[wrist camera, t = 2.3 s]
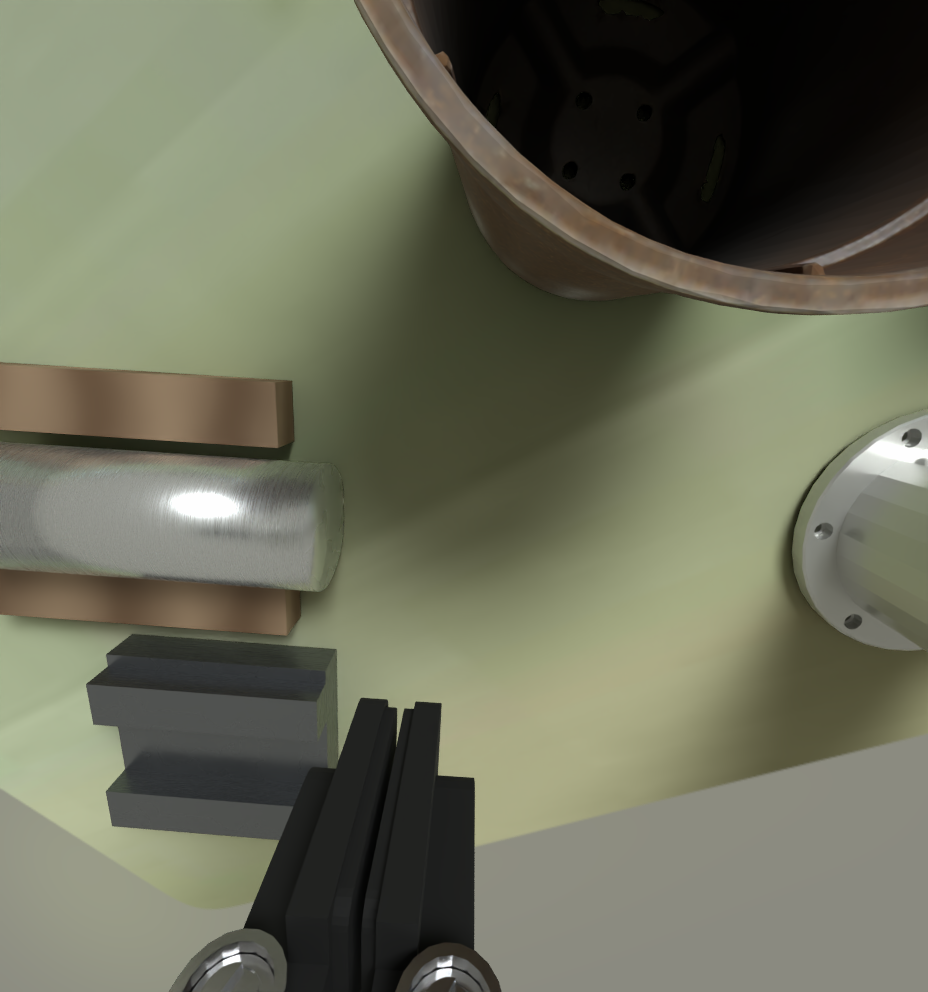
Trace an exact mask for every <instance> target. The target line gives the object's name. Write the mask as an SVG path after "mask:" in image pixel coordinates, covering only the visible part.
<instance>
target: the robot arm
mask: <svg viewBox="0 0 928 992" xmlns="http://www.w3.org/2000/svg"><path fill="white" fill-rule="evenodd" d="M792 557H793V567H794V573H795V576H796V579H797V582H798V585H799V588H800V590H801V592H802V594H803V595H804V597H805V598H806V600H807V602H808V603H809V605H810V606H811V608H812V609H813V610H815V611H816V612H817V613H818V614H819V615H820V616H821V617H822V618H823V619H824V620H825V621H826V622H827V623H829V624H830V625H831V626H833V627H834V628H835V629H837V630H838V631H840V632H841V633H842V634H844V635H846V636H848V637H850V638H852V639H854V640H857V641H859V642H861V643H863V644H866V645H870V646H874V647H878V648H882V649H887V650H901V651H914V650H925V651H926V652H928V409H925V410H921V411H918V412H915V413H911V414H908V415H905V416H901V417H898V418H896V419H894V420H892V421H890V422H887V423H885V424H883V425H881V426H879V427H877V428H875V429H873V430H871V431H870V432H868V433H867V434H865V435H864V436H862V437H861V438H860V439H858V440H857V441H855V442H854V443H852V444H851V445H849V446H848V447H847V448H846V449H845V450H844V451H843V452H842V453H841V454H840V455H839V456H838V457H837V458H835V459H834V460H833V461H832V462H831V463H830V464H829V465H828V467H827V468H826V469H825V470H824V472H823V473H822V474H821V476H820V477H819V478H818V480H817V481H816V482H815V483H814V485H813V486H812V488H811V490H810V492H809V494H808V496H807V498H806V499H805V501H804V503H803V505H802V507H801V510H800V513H799V516H798V519H797V523H796V526H795V529H794V537H793V546H792ZM440 724H441V703H429V702H415V706H414V709H404V713H403V718H402V722H401V727H400V732H399V737H398V742H397V747H396V739H397V708H391V707H388V700H385V699H370V698H361V699H360V701H359V703H358V706H357V709H356V712H355V715H354V718H353V721H352V723H351V726H350V729H349V732H348V735H347V738H346V741H345V744H344V747H343V750H342V752H341V755H340V758H339V761H338V764H337V767H336V768H321V767H312V768H311V769H310V770H309V771H308V773H307V775H306V777H305V780H304V782H303V784H302V787H301V789H300V792H299V794H298V797H297V799H296V801H295V804H294V806H293V809H292V811H291V814H290V816H289V819H288V821H287V823H286V826H285V828H284V831H283V833H282V836H281V838H280V840H279V843H278V845H277V848H276V850H275V853H274V855H273V857H272V860H271V862H270V865H269V867H268V870H267V872H266V875H265V877H264V879H263V882H262V884H261V887H260V889H259V892H258V894H257V896H256V899H255V901H254V904H253V906H252V909H251V911H250V914H249V916H248V918H247V921H246V923H245V926H244V928H243V929H240V930H236V931H232V932H229V933H226V934H224V935H222V936H221V937H219V938H217V939H215V940H214V941H212V942H210V943H209V944H207V945H206V946H205V947H204V948H203V949H202V950H201V951H200V952H198V953H197V954H196V955H195V956H194V957H193V958H192V959H191V960H190V962H189V963H188V964H187V965H186V967H185V968H184V970H183V971H182V972H181V973H180V975H179V976H178V977H177V979H176V981H175V982H174V984H173V985H172V987H171V989H170V990H169V992H501V989H500V985H499V981H498V979H497V977H496V976H495V974H494V972H493V971H492V969H491V967H490V965H489V964H488V963H487V962H486V961H485V960H484V959H483V958H482V957H481V956H480V955H479V954H478V953H477V952H476V951H475V950H474V828H475V782H474V778H467V777H453V776H438V760H439V742H440Z"/></svg>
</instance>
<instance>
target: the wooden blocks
mask: <svg viewBox="0 0 928 992" xmlns="http://www.w3.org/2000/svg"><path fill="white" fill-rule="evenodd" d="M0 430H13V431H28V432H43V433H58V434H73V435H88V436H104V437H119V438H134V439H149V440H164V441H179V442H194V443H209V444H224V445H240V446H255V447H270V448H279V447H282V446H284V445H287V444H289V443H291V442H294V419H293V392H292V381H287V380H271V379H255V378H239V377H223V376H208V375H192V374H176V373H160V372H144V371H129V370H113V369H97V368H81V367H65V366H50V365H34V364H18V363H2V362H0ZM0 614H3V615H16V616H30V617H43V618H57V619H70V620H84V621H97V622H111V623H124V624H138V625H151V626H165V627H178V628H192V629H205V630H219V631H232V632H246V633H259V634H273V635H286V636H287V635H288V634H289V632H290V631H291V629H292V628H293V627H294V625H295V624H296V622H297V621H298V620H299V618H300V617H301V602H300V590H288V589H274V588H260V587H246V586H232V585H218V584H204V583H190V582H177V581H163V580H149V579H135V578H121V577H107V576H93V575H79V574H65V573H51V572H37V571H24V570H10V569H0Z"/></svg>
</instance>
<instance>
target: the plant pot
mask: <svg viewBox="0 0 928 992" xmlns="http://www.w3.org/2000/svg"><path fill="white" fill-rule="evenodd" d="M640 1H645V2H648V3H650V4H652V5H655V6H657V7H659V8H660V9H662V10H663V11H664V14H663V15H662V16H661V17H658V18H654V19H652V20H647V19H644V18H643V17H642V16H641V15H639V16H633V15H626V13H625V12H624V11H623V10H622V11H621V12H620V13H619V14H605V12H604V10H603V9H602V8H601V7H600V6H599V0H354V2H355V4H356V6H357V8H358V10H359V12H360V14H361V16H362V18H363V20H364V22H365V23H366V25H367V27H368V28H369V30H370V32H371V34H372V35H373V37H374V39H375V40H376V42H377V44H378V46H379V47H380V49H381V51H382V52H383V54H384V56H385V58H386V59H387V61H388V63H389V64H390V66H391V67H392V69H393V70H394V72H395V73H396V75H397V76H398V78H399V79H400V81H401V82H402V84H403V85H404V87H405V88H406V90H407V91H408V93H409V94H410V95H411V97H412V98H413V99H414V101H415V102H416V104H417V105H418V106H419V108H420V109H421V110H422V112H423V113H424V114H425V116H426V117H427V119H428V120H429V121H430V123H431V124H432V125H433V126H434V127H435V128H436V130H437V131H438V132H439V133H440V134H441V135H442V136H443V138H444V139H445V140H446V141H447V142H448V144H449V145H450V147H451V150H452V153H453V156H454V159H455V162H456V166H457V169H458V172H459V175H460V178H461V181H462V184H463V188H464V191H465V194H466V197H467V201H468V204H469V207H470V210H471V213H472V215H473V218H474V219H475V221H476V223H477V225H478V227H479V229H480V231H481V233H482V235H483V236H484V238H485V239H486V241H487V243H488V244H489V246H490V247H491V248H492V250H493V251H494V252H495V253H496V255H497V256H498V257H499V259H500V260H501V261H502V262H503V263H504V264H505V265H506V266H507V267H508V268H509V269H510V270H512V271H513V272H514V273H515V274H517V275H518V276H519V277H520V278H522V279H523V280H525V281H527V282H528V283H530V284H532V285H534V286H535V287H537V288H539V289H542V290H544V291H546V292H549V293H552V294H555V295H558V296H561V297H564V298H569V299H575V300H583V301H606V300H615V299H620V298H626V297H631V296H638V295H646V294H653V293H660V292H664V293H670V294H677V295H680V296H684V297H687V298H692V299H696V300H700V301H704V302H709V303H713V304H717V305H722V306H729V307H735V308H741V309H747V310H754V311H760V312H767V313H777V314H795V315H843V314H861V313H880V312H891V311H898V310H905V309H911V308H918V307H925V306H928V0H640ZM497 92H498V93H499V94H500V96H501V98H500V102H501V106H500V112H499V119H498V122H497V130H496V129H495V128H494V127H493V126H492V125H491V124H490V123H489V122H488V121H487V120H486V116H487V115H486V113H487V109H488V106H489V103H490V101H491V100H492V98H493V96H494V94H495V93H497ZM582 92H587V93H589V94H591V96H592V103H591V105H590V106H589V107H588V108H587V109H584V110H581V109H580V108H579V107H578V106H577V105H576V98H577V96H578V95H579V94H580V93H582ZM643 104H647V105H649V106H650V107H651V108H652V115H651V117H650V119H649V120H647V121H640V120H639V119H638V118H637V110H638V108H639V107H640V106H641V105H643ZM720 134H723V135H722V136H723V138H724V140H725V142H726V143H725V154H724V159H723V163H722V168H721V171H720V175H719V179H718V183H717V185H716V188H715V190H714V193H713V195H712V197H711V200H710V201H709V202H705V201H703V200H702V198H701V187H702V185H703V184H704V183H706V182H707V180H706V174H707V171H708V167H709V164H710V162H711V159H712V156H713V153H714V150H713V147H714V143H715V140H716V138H717V136H718V135H720ZM570 161H571V162H575V163H576V165H577V167H578V171H577V174H576V176H575V177H574V178H572V179H565V178H564V177H563V174H562V169H563V166H564V165H565V164H566V163H568V162H570ZM628 173H629V174H633V175H634V177H635V179H636V180H635V184H634V186H633V187H632V188H631V189H630V190H627V191H626V190H623V189H621V187H620V179H621V178H622V176H623V175H624V174H628Z"/></svg>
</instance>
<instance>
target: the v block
mask: <svg viewBox="0 0 928 992" xmlns="http://www.w3.org/2000/svg"><path fill="white" fill-rule="evenodd" d="M106 657H107V663H108V667H107V668H106V669H104V670H103V671H102V672H101V673H99V674H98V675H97V676H96V677H94V678H93V679H92V680H91V681H90V682H88V683H87V684H86V687H87V692H88V698H89V703H90V708H91V714H92V719H93V724H94V725H107V726H118V729H119V735H120V740H121V746H122V752H123V758H124V764H125V770H124V771H123V773H122V774H121V775H120V776H119V777H118V778H117V779H116V780H115V782H114V783H113V784H112V785H111V786H110V787H109V788H108V790H107V791H106V795H107V800H108V806H109V811H110V817H111V822H112V826H117V827H129V828H141V829H153V830H165V831H177V832H189V833H201V834H213V835H226V836H238V837H250V838H262V839H274V840H280V838H281V836H282V833H283V831H284V828H285V826H286V823H287V821H288V819H289V816H290V814H291V811H292V809H293V806H294V804H295V801H296V799H297V797H298V794H299V792H300V789H301V787H302V784H303V782H304V780H305V777H306V775H307V773H308V771H309V770H310V769H311V768H312V767H321V768H336V767H337V764H338V715H337V651H336V649H324V648H311V647H297V646H284V645H271V644H257V643H244V642H230V641H217V640H203V639H190V638H177V637H163V636H150V635H136V634H132V635H131V636H129V637H128V638H127V639H125V640H124V641H123V642H122V643H120V644H119V645H118V646H116V647H115V648H114V649H113V650H111V651H110V652H109V653H107V654H106Z"/></svg>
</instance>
